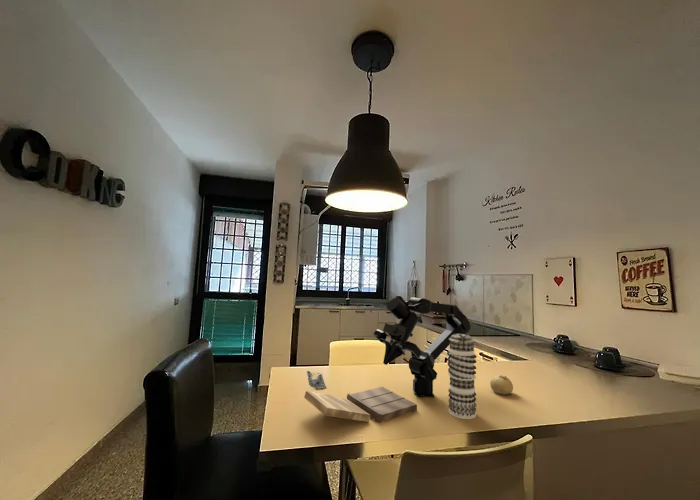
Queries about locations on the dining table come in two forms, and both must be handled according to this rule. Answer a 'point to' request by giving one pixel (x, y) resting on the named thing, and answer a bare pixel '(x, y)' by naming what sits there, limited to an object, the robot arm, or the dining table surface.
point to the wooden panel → (382, 403)
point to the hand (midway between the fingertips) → (384, 364)
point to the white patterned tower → (462, 376)
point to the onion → (501, 384)
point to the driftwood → (316, 381)
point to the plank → (336, 406)
